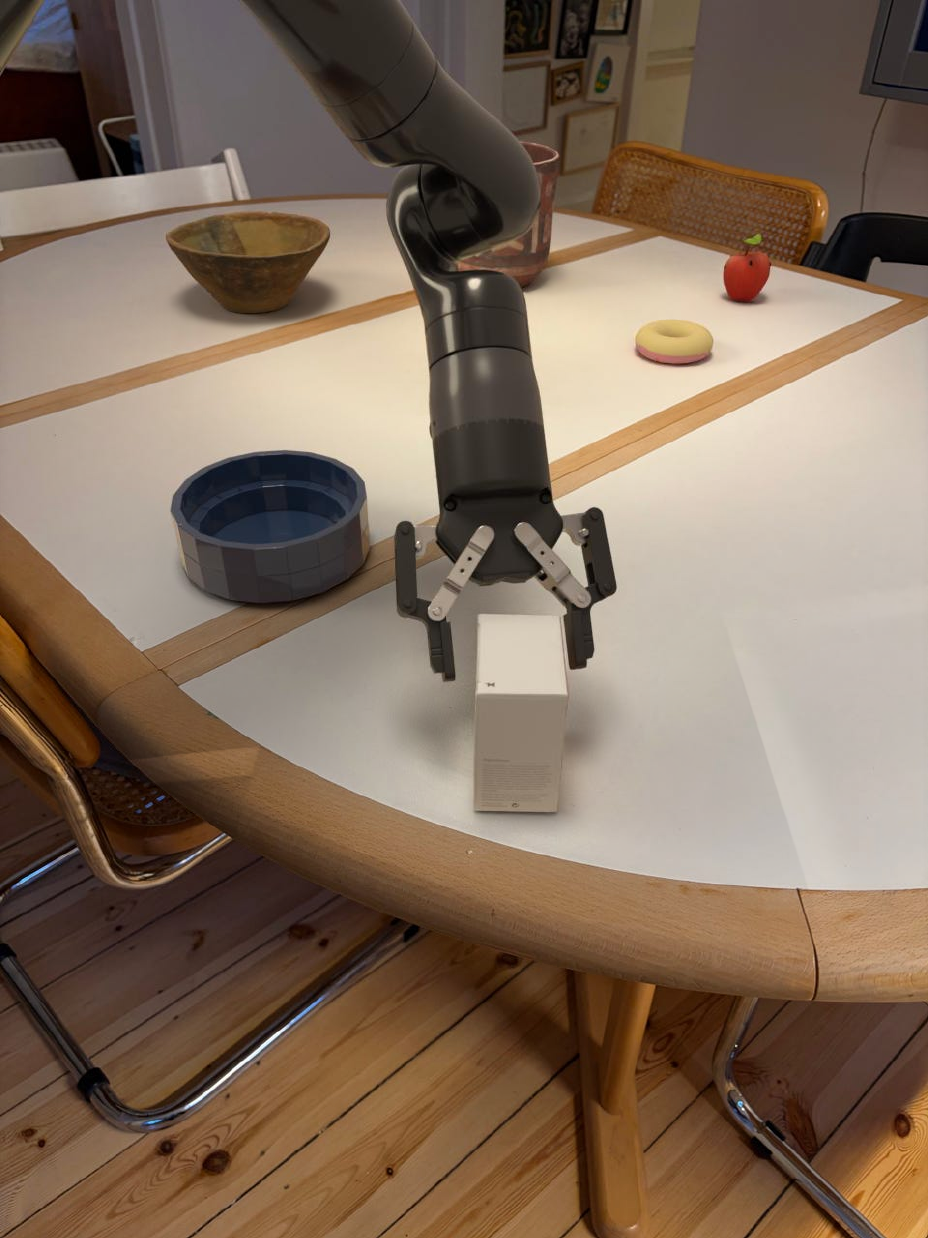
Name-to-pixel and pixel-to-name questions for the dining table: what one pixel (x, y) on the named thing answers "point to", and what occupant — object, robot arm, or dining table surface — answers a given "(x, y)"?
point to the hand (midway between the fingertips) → (514, 674)
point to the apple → (746, 273)
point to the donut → (674, 341)
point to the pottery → (532, 248)
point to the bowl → (250, 256)
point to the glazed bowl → (271, 525)
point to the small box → (519, 712)
